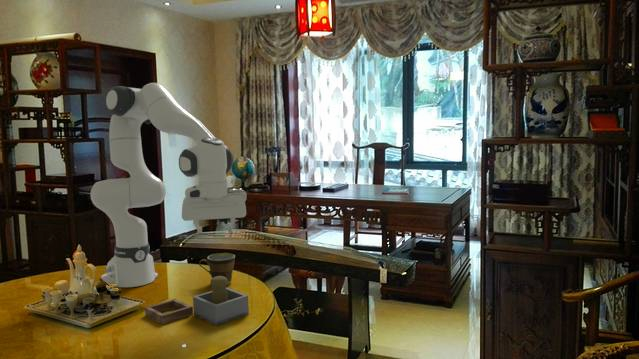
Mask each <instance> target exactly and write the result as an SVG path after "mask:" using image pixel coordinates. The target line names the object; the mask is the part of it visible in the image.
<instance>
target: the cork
mask: <svg viewBox="0 0 639 359" xmlns="http://www.w3.org/2000/svg"><path fill="white" fill-rule="evenodd" d="M209 282H210V287H211V288H212V290H211V291H212V301H211V302H212V303H214V304H219V303H223V302H226V301H228V295H227V290H226V287H228V285H229V284H228V281H227V278H226V277H224V276H216V277H213V278H212V277H211V279H210V281H209ZM227 284H228V285H227Z"/></svg>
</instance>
